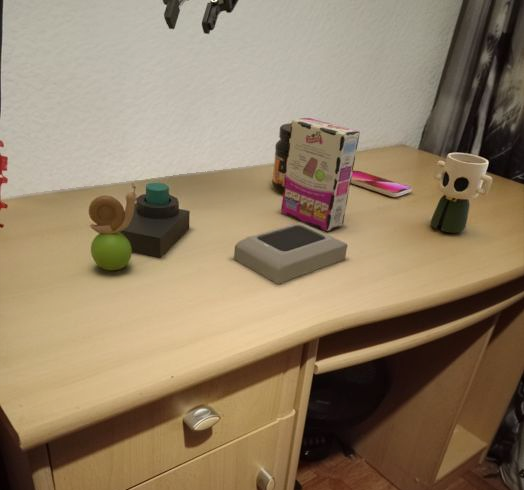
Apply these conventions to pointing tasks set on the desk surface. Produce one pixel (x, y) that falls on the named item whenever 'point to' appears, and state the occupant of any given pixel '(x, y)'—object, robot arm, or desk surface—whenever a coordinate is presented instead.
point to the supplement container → (281, 158)
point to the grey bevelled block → (289, 252)
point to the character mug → (459, 189)
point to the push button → (157, 193)
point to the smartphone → (379, 184)
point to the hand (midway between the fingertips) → (187, 26)
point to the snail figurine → (111, 230)
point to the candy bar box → (319, 172)
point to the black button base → (156, 226)
